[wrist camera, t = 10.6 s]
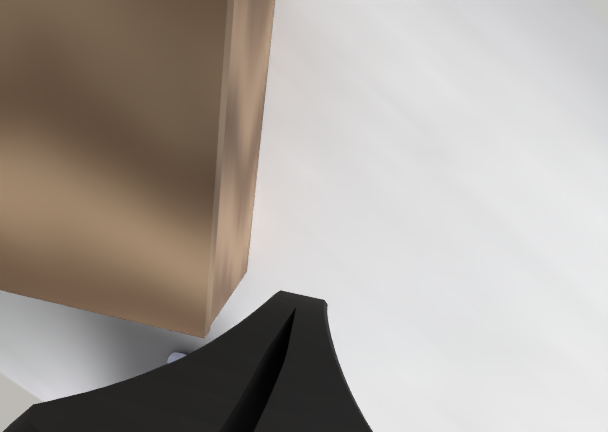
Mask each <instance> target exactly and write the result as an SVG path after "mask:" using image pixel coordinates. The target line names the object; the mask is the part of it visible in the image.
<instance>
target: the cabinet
mask: <svg viewBox="0 0 608 432" xmlns="http://www.w3.org/2000/svg"><path fill="white" fill-rule="evenodd" d="M274 5H275V0H0V290H2V291H6V292H10V293H15V294H19V295H23V296H27V297H32V298H36V299H40V300H44V301H49V302H53V303H57V304H61V305H66V306H70V307H74V308H78V309H82V310H87V311H91V312H95V313H99V314H104V315H108V316H112V317H116V318H121V319H125V320H129V321H133V322H138V323H142V324H146V325H150V326H155V327H159V328H163V329H167V330H171V331H176V332H180V333H184V334H188V335H193V336H197V337H201V338H205V336H206V335H207V333H208V332H209V330H210V325H211V324H212V322H213V321H214V319H215V318H216V316H217V315H218V314H219V312H220V311H221V309H222V308H223V306H224V305H225V303H226V302H227V300H228V299H229V297H230V296H231V294H232V293H233V291H234V290H235V288H236V287H237V285H238V284H239V282H240V281H241V279H242V278H243V276H244V275H245V274H246V272H247V264H248V254H249V244H250V235H251V225H252V216H253V206H254V197H255V187H256V177H257V168H258V158H259V149H260V139H261V129H262V120H263V110H264V101H265V91H266V82H267V72H268V62H269V53H270V43H271V34H272V24H273V14H274Z"/></svg>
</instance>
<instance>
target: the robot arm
mask: <svg viewBox="0 0 608 432" xmlns="http://www.w3.org/2000/svg"><path fill="white" fill-rule="evenodd" d="M327 306H328V305H327V303H326V302H325V300H322V299H317V298H313V297H308V296H303V295H299V294H294V293H290V292H285V291H279V292H277V293H276V294H275V295H273V296H272V297H271V298H270V299H269V300H268V301H267V302H265V303H264V304H263V305H262V306H261V307H259V308H258V309H257V310H256V311H254V312H253V313H252V314H251V315H249V316H248V317H247V318H245V319H244V320H243V321H241V322H240V323H239V324H237V325H236V326H234V327H233V328H231V329H230V330H228V331H227V332H225V333H224V334H222V335H221V336H219V337H218V338H216V339H215V340H213V341H212V342H210V343H208V344H206V345H205V346H203V347H201V348H200V349H198V350H196V351H194V352H192V353H190V354H188V355H186V354H182V353H178V352H174V353H172V354H171V355H170V356H169V358H168V360H167V364H166V365H164V366H161V367H159V368H157V369H154V370H152V371H149V372H147V373H145V374H142V375H139V376H136V377H134V378H131V379H128V380H125V381H122V382H119V383H116V384H112V385H109V386H106V387H103V388H99V389H96V390H92V391H89V392H85V393H81V394H77V395H72V396H68V397H64V398H60V399H56V400H52V401H48V402H43V403H38V404H33V405H32V406H31V407H30V408H29V409H28V410H26V411H25V412H24V413H23V414H22V415H21V416H20V417H18V418H17V419H16V420H15V421H14V422H13V423H11V424H10V425H9V426H8V427H7V428H6V429H5V430H4V431H3V432H373V431H372V430H371V428H370V426H369V425H368V423H367V422H366V420H365V418H364V416H363V414H362V413H361V411H360V409H359V407H358V405H357V403H356V401H355V399H354V397H353V395H352V393H351V391H350V389H349V387H348V384H347V382H346V380H345V377H344V375H343V372H342V369H341V367H340V364H339V361H338V358H337V355H336V352H335V349H334V345H333V341H332V338H331V334H330V329H329V324H328V317H327Z"/></svg>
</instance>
